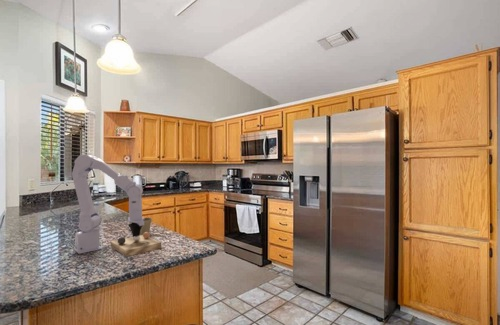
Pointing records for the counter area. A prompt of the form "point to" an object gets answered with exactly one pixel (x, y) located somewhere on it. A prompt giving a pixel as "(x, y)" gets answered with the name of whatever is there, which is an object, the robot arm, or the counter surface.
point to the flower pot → (146, 226)
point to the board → (135, 245)
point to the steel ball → (136, 238)
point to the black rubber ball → (121, 240)
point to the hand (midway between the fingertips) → (136, 238)
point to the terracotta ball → (146, 235)
